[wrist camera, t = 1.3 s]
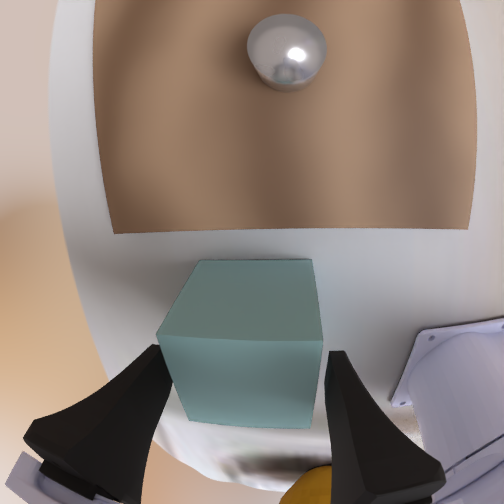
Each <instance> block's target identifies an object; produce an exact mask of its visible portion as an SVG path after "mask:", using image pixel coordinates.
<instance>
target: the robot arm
mask: <svg viewBox="0 0 504 504" xmlns="http://www.w3.org/2000/svg"><path fill="white" fill-rule="evenodd" d="M430 336H431V337H430ZM172 383H173V380H172V378H171V375H170V373H169V370H168V367H167V365H166V362H165V359H164V356H163V353H162V351H161V348H160V345H155V344H152V345H151V346H149V347H148V348H147V349H146V350H145V351H144V352H143V353H142V354H141V355H140V356H139V357H137V358H136V359H135V360H134V361H133V362H132V363H131V364H130V365H129V366H128V367H126V368H125V369H124V370H123V371H122V372H121V373H120V374H118V375H117V376H116V377H115V378H113V379H112V380H111V381H110V382H108V383H107V384H106V385H105V386H103V387H102V388H101V389H99V390H98V391H97V392H95V393H93V394H92V395H90V396H89V397H87V398H85V399H83V400H82V401H80V402H78V403H76V404H74V405H72V406H71V407H68V408H66V409H64V410H62V411H59V412H57V413H54V414H52V415H48V416H45V417H42V418H39V419H35V420H34V421H33V422H32V424H31V426H30V427H29V429H28V430H27V432H26V434H25V435H24V437H23V439H24V441H25V442H26V444H27V445H28V446H29V447H30V448H32V449H33V450H34V451H35V452H36V453H37V454H38V455H39V456H40V457H41V458H43V459H44V461H43V463H41V462H39V461H38V460H36V459H35V458H33V457H32V456H30V455H28V454H27V453H25V452H22V453H21V455H20V457H19V459H18V461H17V462H16V464H15V466H14V468H13V469H12V471H11V473H10V475H9V477H8V479H7V481H6V483H5V485H6V486H7V487H8V488H10V489H11V490H12V491H13V492H14V493H16V494H17V495H18V496H19V497H21V498H22V499H23V500H24V501H26V502H27V503H28V504H120V503H123V504H141V495H142V485H143V478H144V472H145V467H146V462H147V457H148V453H149V449H150V445H151V441H152V438H153V435H154V432H155V429H156V427H157V424H158V422H159V419H160V417H161V414H162V412H163V409H164V407H165V405H166V402H167V400H168V397H169V394H170V391H171V387H172ZM324 386H325V405H326V412H327V419H328V426H329V434H330V441H331V452H332V478H331V502H330V504H504V318H501V319H496V320H490V321H484V322H478V323H472V324H466V325H459V326H452V327H444V328H436V329H428V330H423V331H421V332H420V333H419V334H418V335H417V338H416V341H415V343H414V346H413V349H412V352H411V354H410V357H409V360H408V362H407V365H406V367H405V370H404V372H403V375H402V377H401V380H400V382H399V384H398V387H397V389H396V391H395V393H394V396H393V398H392V400H391V406H392V407H402V406H408V405H413V408H414V412H415V415H416V419H417V422H418V426H419V430H420V433H421V437H422V441H423V445H424V449H425V451H424V450H422V449H421V448H420V447H418V446H417V445H416V444H415V443H413V442H412V441H411V440H410V439H409V438H408V437H407V436H406V435H405V434H404V433H402V432H401V431H400V430H399V429H398V428H397V427H396V426H395V425H394V424H393V423H392V422H391V420H390V419H389V418H388V417H387V416H386V415H385V414H384V412H383V411H382V410H381V409H380V407H379V406H378V405H377V404H376V402H375V401H374V399H373V398H372V397H371V395H370V394H369V392H368V391H367V389H366V388H365V386H364V385H363V383H362V382H361V380H360V378H359V377H358V375H357V373H356V372H355V370H354V368H353V366H352V364H351V362H350V361H349V359H348V357H347V354H346V352H345V351H344V350H342V351H329V356H328V362H327V369H326V375H325V381H324ZM113 500H114V501H113ZM115 501H116V502H115ZM117 502H119V503H117Z"/></svg>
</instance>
